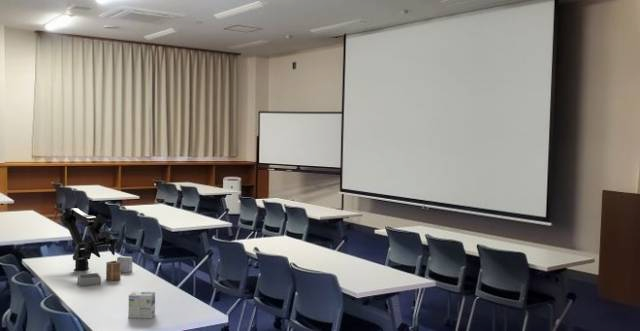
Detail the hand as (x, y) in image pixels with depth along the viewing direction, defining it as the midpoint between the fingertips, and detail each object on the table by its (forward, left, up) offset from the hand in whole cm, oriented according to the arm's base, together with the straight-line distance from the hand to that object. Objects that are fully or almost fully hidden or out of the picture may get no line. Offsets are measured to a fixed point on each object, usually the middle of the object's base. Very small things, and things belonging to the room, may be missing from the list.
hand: (107, 255), depth 325 cm
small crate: (+6, -3, -13) cm, 14 cm away
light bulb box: (+49, -60, -13) cm, 79 cm away
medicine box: (+3, +17, -13) cm, 21 cm away
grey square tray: (-3, -13, -13) cm, 19 cm away
